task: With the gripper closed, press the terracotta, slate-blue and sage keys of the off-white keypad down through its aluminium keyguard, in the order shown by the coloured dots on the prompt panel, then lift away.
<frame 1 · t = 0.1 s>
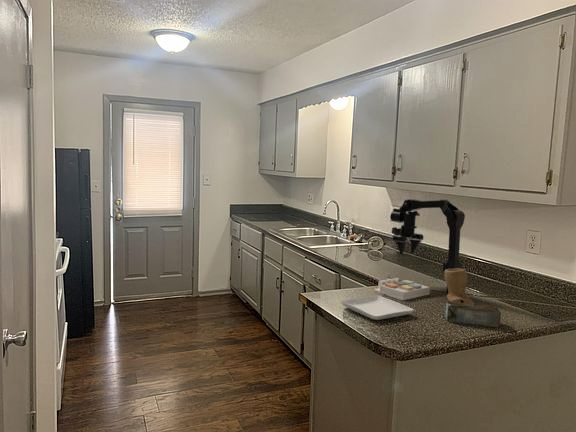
hand: (406, 253, 235), 15 cm above the worktop, fingers open, 9 cm apart
key charcoal: (399, 284, 214), point 4 cm above the worktop, slide at 0.0 cm
salad plate: (376, 313, 182), on the worktop
key slate: (414, 286, 212), point 4 cm above the worktop, slide at 0.0 cm
key terracotta: (391, 286, 211), point 4 cm above the worktop, slide at 0.0 cm
keypad: (404, 293, 213), on the worktop
tan boot: (456, 302, 203), on the worktop
weathered grey rectangular box: (471, 322, 177), on the worktop
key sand: (406, 288, 208), point 4 cm above the worktop, slide at 0.0 cm
key sage: (407, 283, 218), point 4 cm above the worktop, slide at 0.0 cm
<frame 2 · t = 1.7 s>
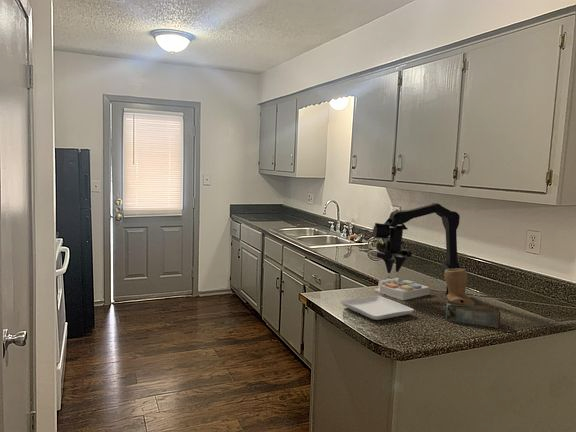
hand: (393, 272, 210), 10 cm above the worktop, fingers open, 6 cm apart
nothing on the worktop moved.
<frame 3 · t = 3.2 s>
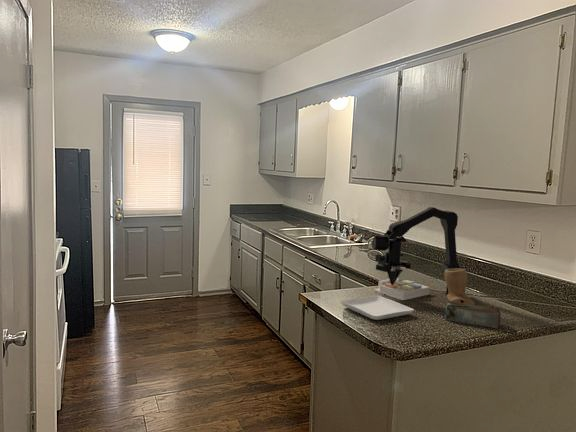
hand: (392, 284, 211), 4 cm above the worktop, fingers closed, pressing on key terracotta
key terracotta: (391, 286, 211), point 4 cm above the worktop, slide at 0.0 cm, touching gripper
everything else where it was.
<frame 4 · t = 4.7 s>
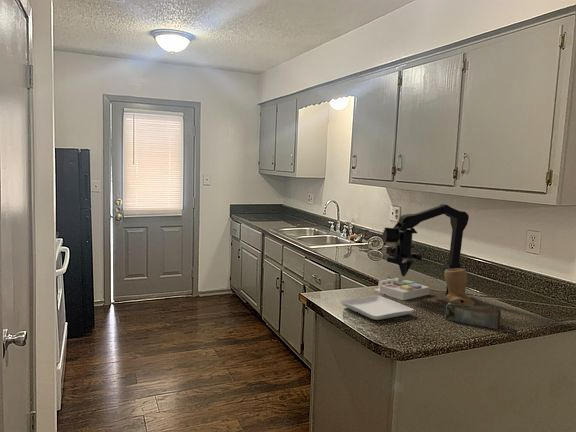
hand: (403, 276, 211), 8 cm above the worktop, fingers closed
key terracotta: (391, 289, 211), point 2 cm above the worktop, slide at 1.6 cm
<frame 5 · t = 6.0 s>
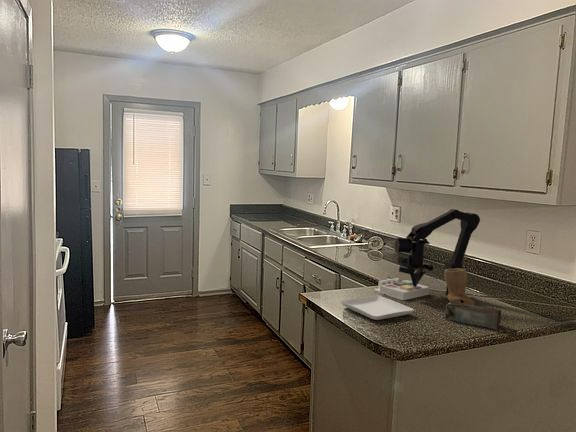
hand: (414, 286, 212), 4 cm above the worktop, fingers closed, pressing on key slate
key slate: (414, 288, 212), point 3 cm above the worktop, slide at 0.6 cm, touching gripper
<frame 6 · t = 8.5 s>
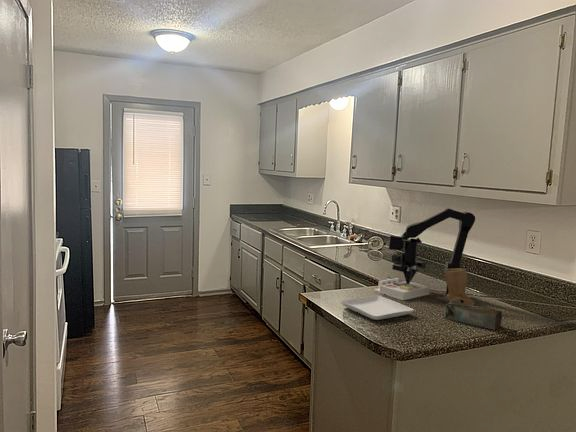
hand: (407, 283, 218), 3 cm above the worktop, fingers closed, pressing on key sage
key slate: (414, 290, 212), point 2 cm above the worktop, slide at 1.6 cm
key sage: (407, 285, 218), point 2 cm above the worktop, slide at 1.1 cm, touching gripper
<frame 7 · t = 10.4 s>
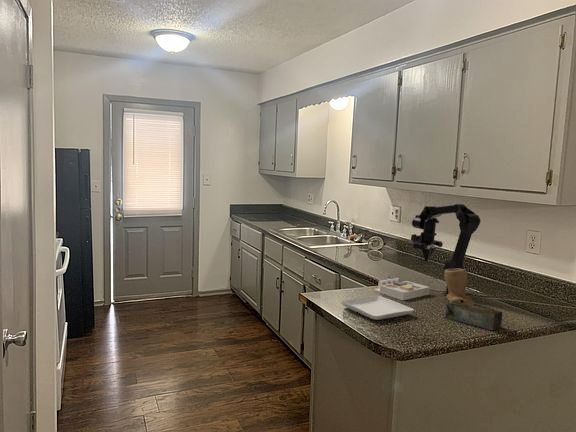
hand: (426, 261, 232), 12 cm above the worktop, fingers closed
key sage: (407, 286, 218), point 2 cm above the worktop, slide at 1.6 cm
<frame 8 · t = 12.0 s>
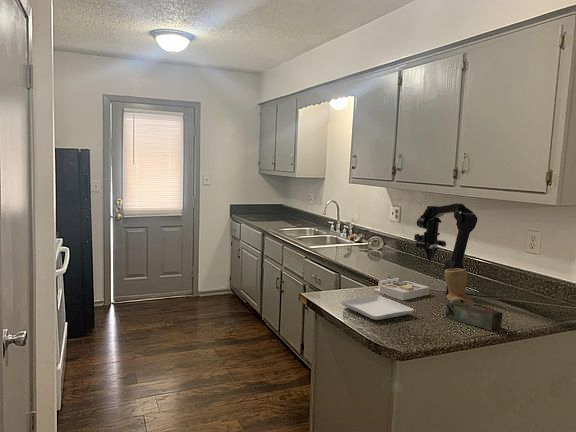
hand: (429, 260, 234), 12 cm above the worktop, fingers closed
at the end: key terracotta slide at 1.6 cm; key slate slide at 1.6 cm; key sage slide at 1.6 cm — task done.
